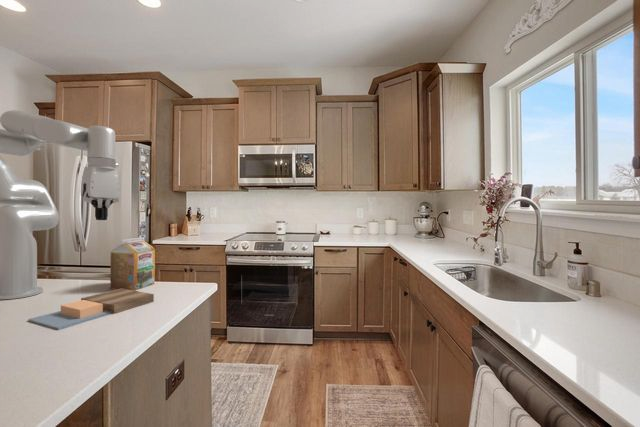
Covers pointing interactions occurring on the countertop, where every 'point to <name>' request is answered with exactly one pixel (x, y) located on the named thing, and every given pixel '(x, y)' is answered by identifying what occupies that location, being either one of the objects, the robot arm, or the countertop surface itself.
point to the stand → (121, 299)
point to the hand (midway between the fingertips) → (101, 219)
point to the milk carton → (132, 265)
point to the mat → (64, 319)
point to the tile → (81, 308)
